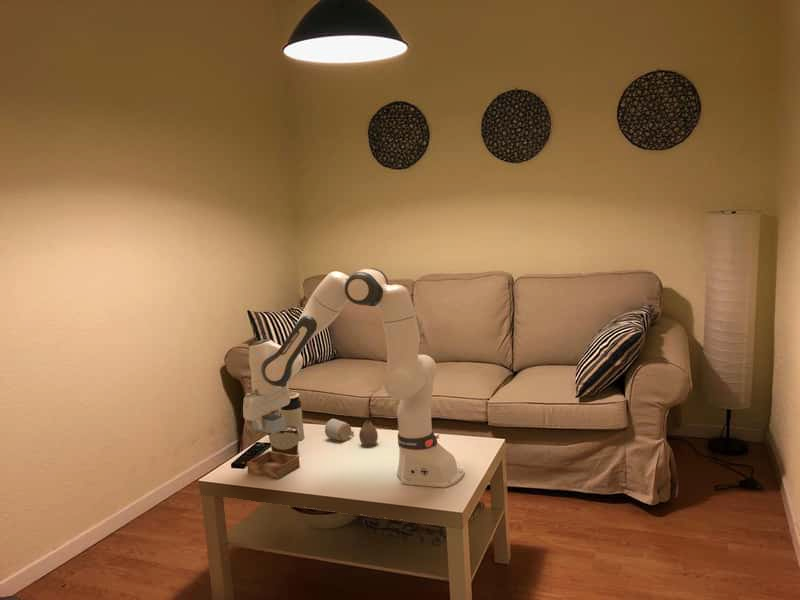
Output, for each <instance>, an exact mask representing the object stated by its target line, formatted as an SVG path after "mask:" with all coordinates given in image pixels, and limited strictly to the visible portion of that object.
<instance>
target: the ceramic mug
mask: <svg viewBox="0 0 800 600" xmlns="http://www.w3.org/2000/svg"><path fill="white" fill-rule="evenodd" d="M354 433H355V431H354V430H352V428H351V425H350V424H349V423H347V422H345V421H342V420H339V419H336V418H331V419H329V420H328V421H327V422H326V424H325V426H324V434H325V436H326V438H328V439H332V440H337V441H340V442H345V441H347V440H348V439H349V438H350V436H354Z"/></svg>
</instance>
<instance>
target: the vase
mask: <svg viewBox="0 0 800 600" xmlns="http://www.w3.org/2000/svg"><path fill="white" fill-rule="evenodd" d="M358 433H359V434H358V436H359V441H360V444H362V445H363V446H364V447H369V448H370V447H372V446H375V445H376V443H377V441H378V439H379V435H378V431H377V429H376V427H375V426H374V425H373V424H372V423H371V421H365V422H364V423H363V425H362V427H361V428H360V430H359V432H358Z"/></svg>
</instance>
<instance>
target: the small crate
mask: <svg viewBox="0 0 800 600" xmlns="http://www.w3.org/2000/svg"><path fill="white" fill-rule="evenodd" d="M261 421H262V423H265V428H263V429H259V428H258V423H257V422H256V421H255V420H252V421H251V425H252V431H255V432H260V433H266V434H267V433H272V434H275V433H277V432H279V431H282V430H284V429H286V422H285V416H283V415H281V414H280V415H276V414H275V413H274V414H273V413H268V414H266V415H264V416H262V419H261Z"/></svg>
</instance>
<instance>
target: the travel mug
mask: <svg viewBox="0 0 800 600" xmlns="http://www.w3.org/2000/svg"><path fill="white" fill-rule="evenodd" d="M299 397H300V393H298V392H290V403H289V404H288V405H286V406H284V407H282V408H281V413H280V415H283V416H285V422H286V425H295V426H297V427H298V429H299V432H300V434H299V433H298V442H300V441H302V440H304V439H305V431H304V430H305V429H304V422H303V411H302V402H301V400H300V398H299Z"/></svg>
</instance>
